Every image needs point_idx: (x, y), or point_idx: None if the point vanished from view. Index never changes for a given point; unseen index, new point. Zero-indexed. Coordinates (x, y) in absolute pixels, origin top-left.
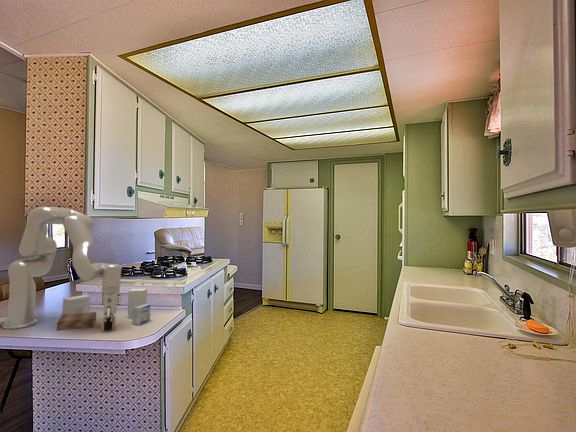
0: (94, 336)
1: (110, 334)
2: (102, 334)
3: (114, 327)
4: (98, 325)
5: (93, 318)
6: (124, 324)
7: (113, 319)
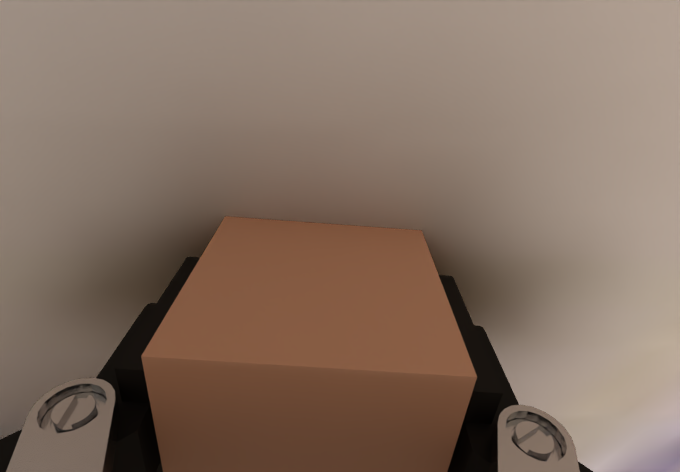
0: (576, 431)
1: (645, 281)
2: (561, 365)
3: (349, 233)
4: None
5: None
6: (148, 30)
7: (467, 398)
